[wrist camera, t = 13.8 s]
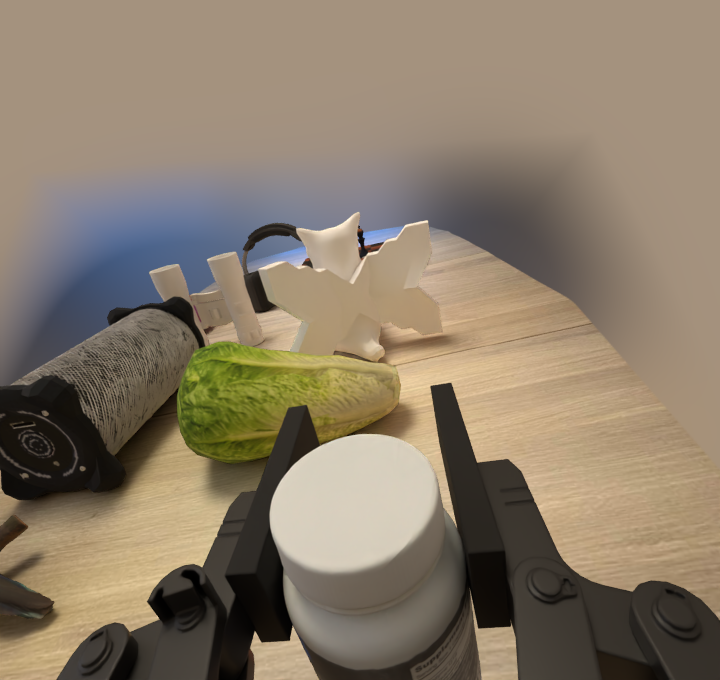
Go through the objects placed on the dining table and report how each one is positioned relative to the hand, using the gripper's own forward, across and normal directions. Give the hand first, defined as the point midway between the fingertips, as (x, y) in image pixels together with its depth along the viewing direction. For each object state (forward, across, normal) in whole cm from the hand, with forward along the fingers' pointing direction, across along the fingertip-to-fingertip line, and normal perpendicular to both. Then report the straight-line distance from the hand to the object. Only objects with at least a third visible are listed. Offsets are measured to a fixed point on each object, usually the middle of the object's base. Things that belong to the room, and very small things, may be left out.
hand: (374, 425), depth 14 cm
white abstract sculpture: (+46, -7, -18) cm, 50 cm away
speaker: (+31, -40, -18) cm, 54 cm away
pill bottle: (-5, 0, -6) cm, 8 cm away
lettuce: (+24, -12, -18) cm, 32 cm away
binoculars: (+56, -36, -18) cm, 69 cm away
